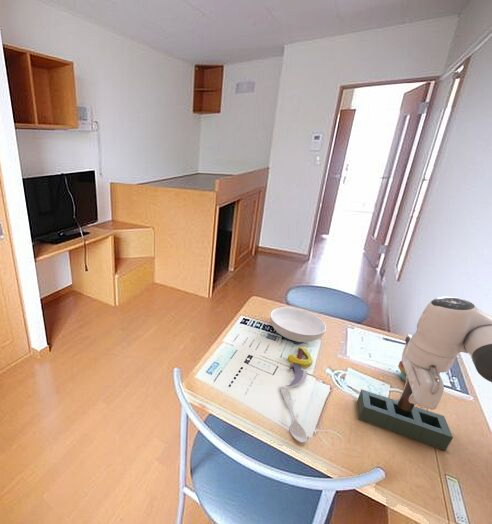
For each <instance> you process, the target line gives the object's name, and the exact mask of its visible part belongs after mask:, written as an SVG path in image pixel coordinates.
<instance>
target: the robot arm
mask: <svg viewBox="0 0 492 524" xmlns="http://www.w3.org/2000/svg"><path fill="white" fill-rule="evenodd" d="M404 341H405V345H404V347H403V351H402V353H401V361H402V362H403V365H404V368H405V371H406V374H407V376H406V381H405V383H404V387H403V389H404V388H405V386H406V384H407V381H408V380H409V384H410V387H411V390H412V394H409V396H408V401H409V402H410V403H412V404H415V405H417V406H419V407H422V408H425V409H428V410H436V409H437V408H438V406H439V404H440V401H441V399H442V396H443V393H444V390H445V384H444V381H443V379H442V377H441V375H440V373H447V372H449V371H450V370H451V368H452V366H453V364H454V362H455V360H456V358H457V356H458V355H459V354H460V353H464V354H468V355H469V357H470V358H471V361H472V363H473V365H474V367H475V370H476V372H477V373H478V374H479V375H480V377H482V378H483V379H485V380H486V381H488V382H490V383H492V316H491V315H489V314H487V313H485V312H484V311H482V310H481V309H479V308H478V307H477V306H476V305H475V304H474V303H473V302H471V301H469V300H466V299H463V298H459V297H453V296H441V297H436V298H433V299H432V300H430V302H429V303H428V304H427V305H426V306H425V308H424V310H423V311H422V312H421V315H420V317H419V318H418V321H417V323H416V331H415V333H413V334H412V335H411V334H407V335H406V336H405V339H404Z"/></svg>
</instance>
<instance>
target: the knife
mask: <svg viewBox="0 0 492 524" xmlns="http://www.w3.org/2000/svg"><path fill="white" fill-rule="evenodd" d="M303 356H304V358H305V359H303ZM287 361H288V363H289V364H291V365H290V366H289V370H292V371H293V374H294V377H293V379H292V381H291V382H290V384H288V385H286V387H288V388H291V387H296V386H299V385H302V384H304V382H305V381H306V378H307V377H308V370H303V368H304V369H305V368H309V367H311V366H312V364H313V363H314V362H313V361H314V359H313V356H312V355H311V354H310V352H309V349H308V348H307V347H306V346H301V345H299V346H298V348H297V354H288V356H287Z"/></svg>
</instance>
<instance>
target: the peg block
mask: <svg viewBox="0 0 492 524" xmlns="http://www.w3.org/2000/svg"><path fill="white" fill-rule="evenodd" d="M398 401H399V400H396V399H393V398H391V397H387V396H383V395H380V394H378V393H375V392H371V391H368V390H365V389H361V390H360V392H359V395H358V397H357V400H356V404H357V416H358V420H359V421H363V422H365V423H368V424H370V425H374V426H376V427H379V428H382V429H385V430H387V431H389V432H393V433H396V434H399V435H401V436H404V437H406V438H409V439H412V440H414V441H418V442H419V443H423V444H425V445H428V446H431V447H434V448H437V449H440V450H443V451H447V449H448V447H449V445H450V444H451V442H452V440H453V439H454V436H453V434H452V431H451V428H450V427H449V423H448V421H447V419H446V418H445V415H442V414H439V413H436V412H433V411H430V410H426V409H424V408H421V407H417V406H415V405H414V407H413V409H412V411H410V412H408V411H404V410H402V409H401V408H400V407H399V406H398Z"/></svg>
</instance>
